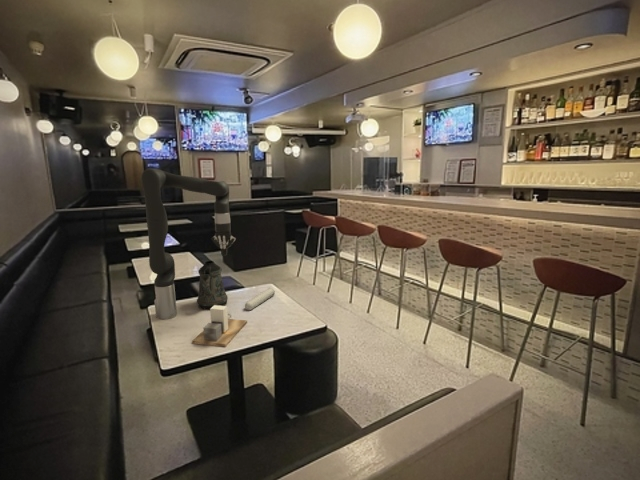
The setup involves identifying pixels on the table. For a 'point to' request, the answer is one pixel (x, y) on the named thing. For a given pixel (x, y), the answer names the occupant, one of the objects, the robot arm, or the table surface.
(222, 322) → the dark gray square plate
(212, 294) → the beer stein
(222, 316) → the sleeve
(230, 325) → the pipe stand
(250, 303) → the tube
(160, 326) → the table surface
